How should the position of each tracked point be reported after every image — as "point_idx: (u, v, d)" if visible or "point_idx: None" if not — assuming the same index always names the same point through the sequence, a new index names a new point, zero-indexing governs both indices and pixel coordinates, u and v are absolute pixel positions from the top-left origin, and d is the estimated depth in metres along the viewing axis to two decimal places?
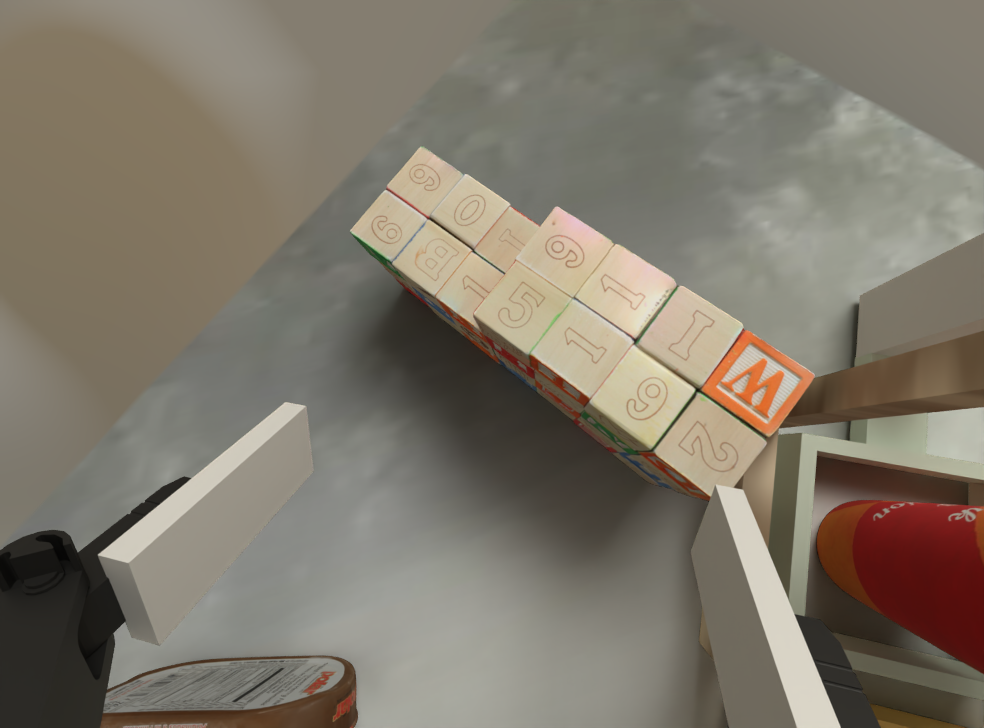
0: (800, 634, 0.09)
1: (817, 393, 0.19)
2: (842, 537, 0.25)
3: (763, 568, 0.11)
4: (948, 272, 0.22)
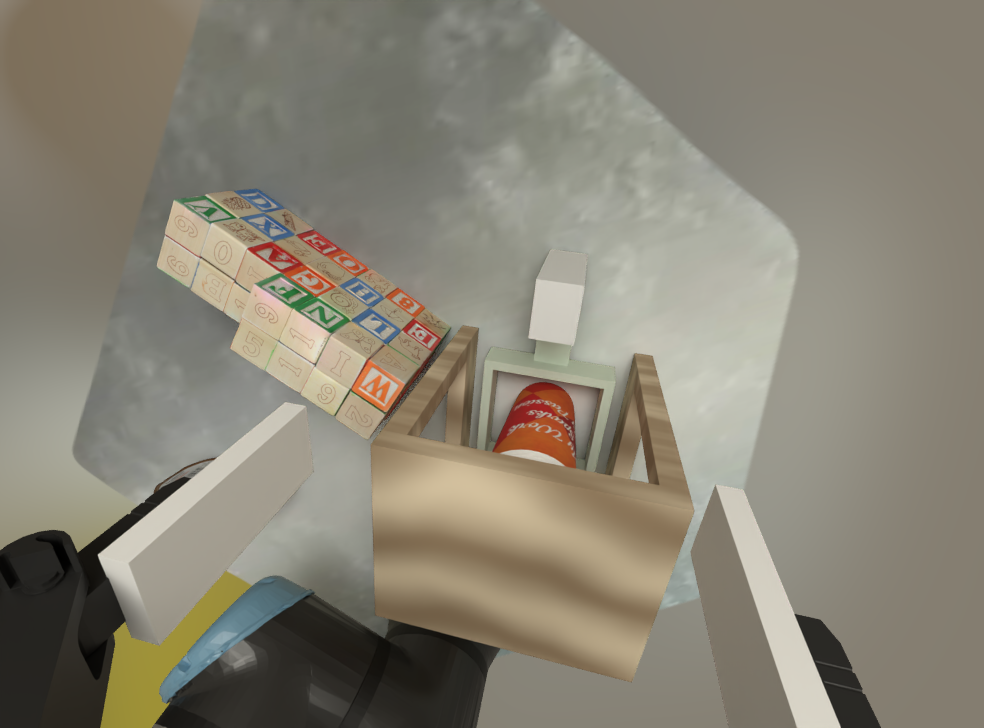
0: (800, 634, 0.09)
1: None
2: None
3: (763, 568, 0.11)
4: None
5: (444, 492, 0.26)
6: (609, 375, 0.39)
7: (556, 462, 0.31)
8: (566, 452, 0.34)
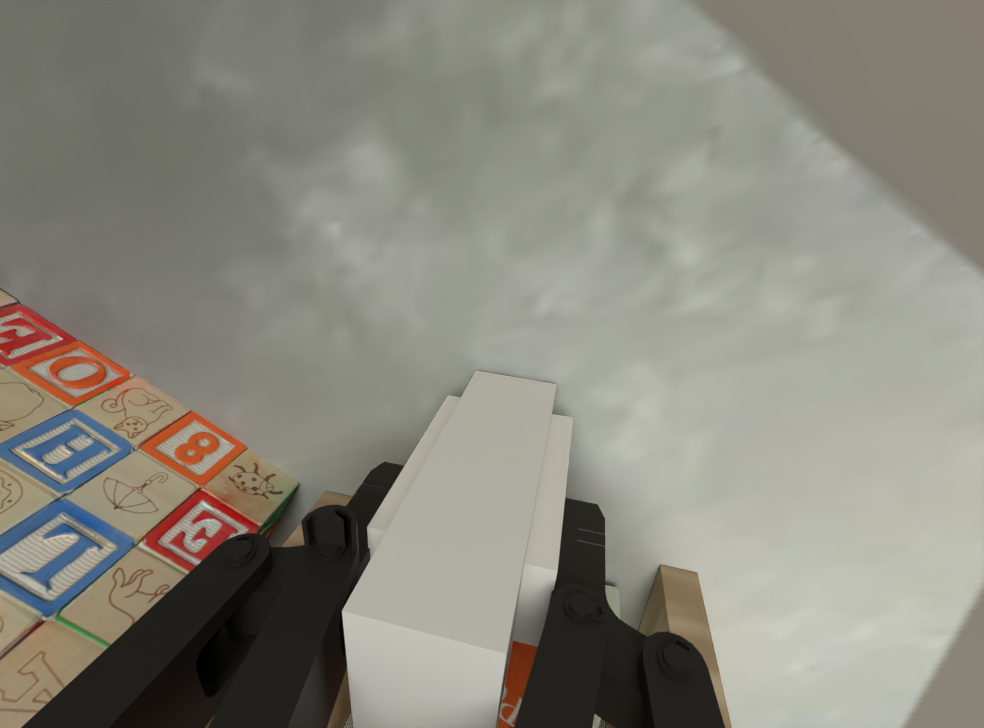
0: (562, 506, 0.12)
1: None
2: None
3: (558, 466, 0.13)
4: None
5: None
6: None
7: None
8: None
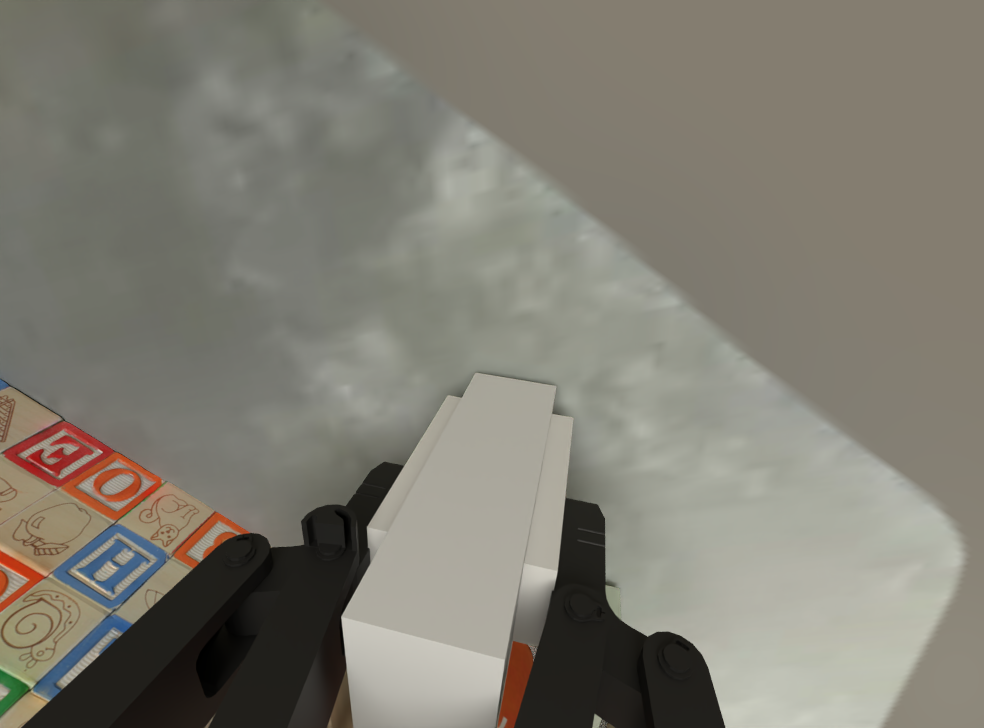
0: (562, 506, 0.12)
1: None
2: None
3: (558, 467, 0.13)
4: None
5: None
6: None
7: None
8: None
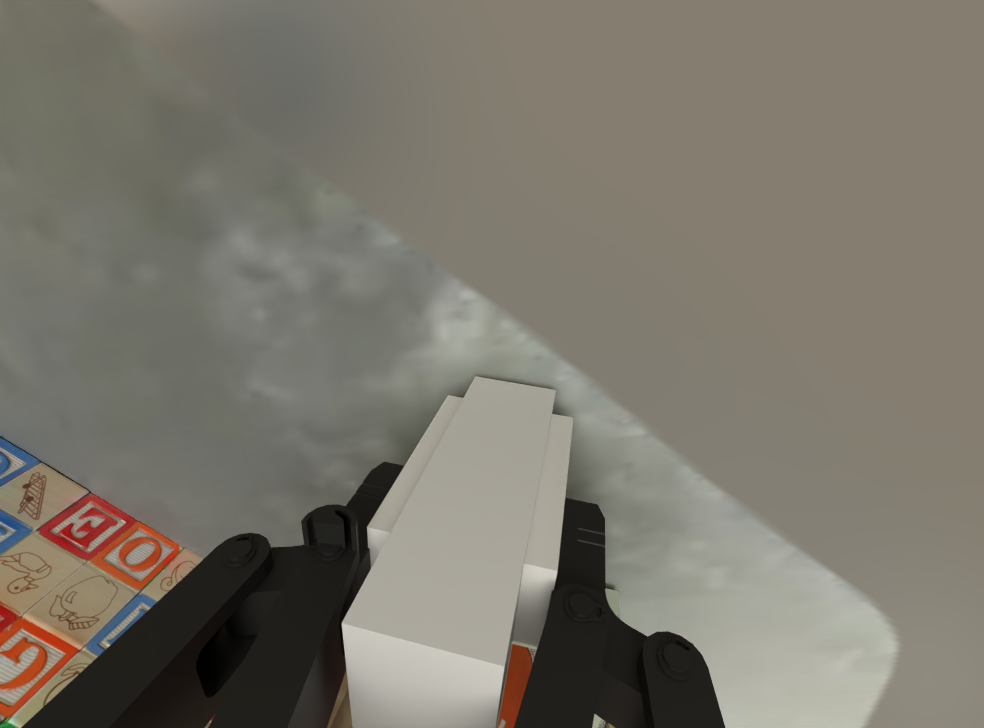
0: (562, 506, 0.12)
1: None
2: None
3: (558, 466, 0.13)
4: None
5: None
6: None
7: None
8: None
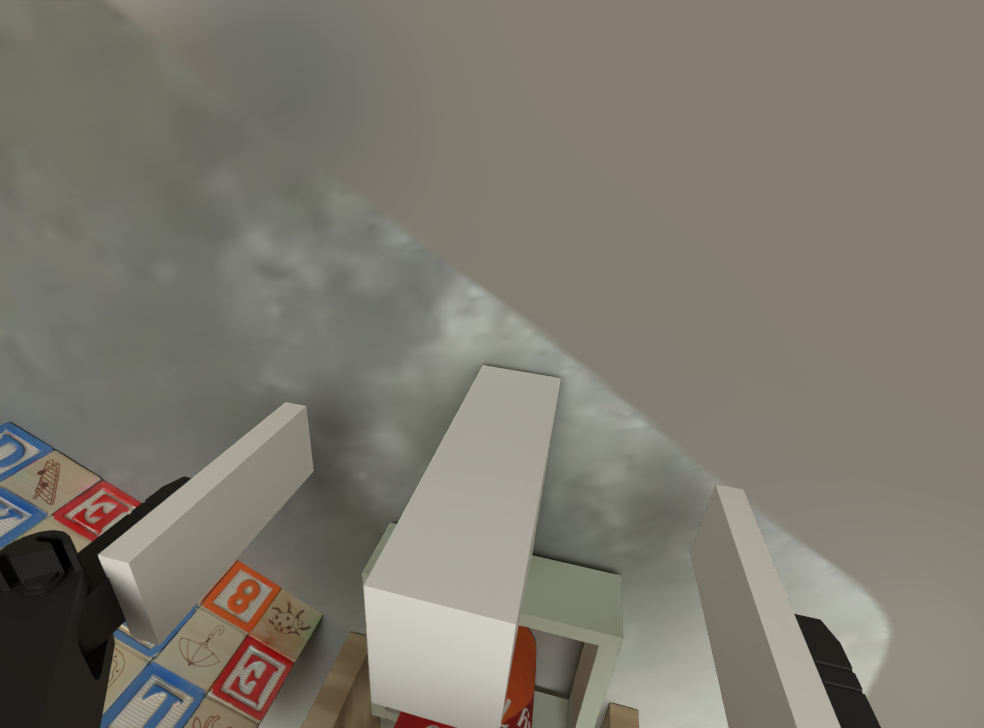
0: (800, 634, 0.09)
1: None
2: None
3: (763, 568, 0.11)
4: None
5: None
6: (610, 610, 0.19)
7: None
8: None
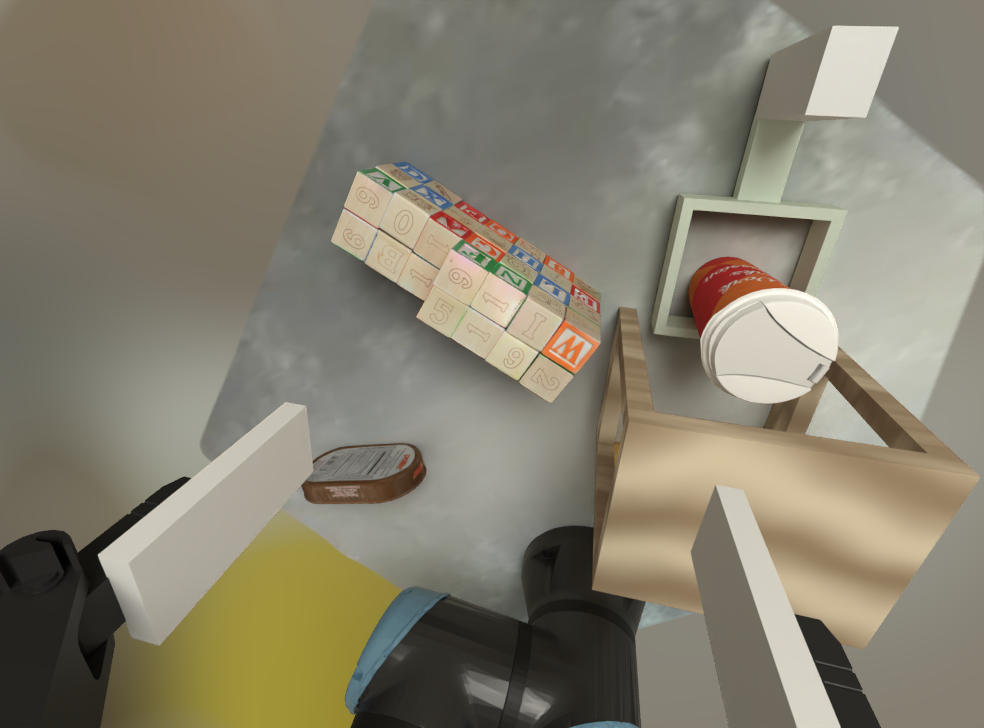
0: (800, 634, 0.09)
1: (621, 362, 0.34)
2: (692, 291, 0.38)
3: (763, 568, 0.11)
4: (800, 61, 0.27)
5: (699, 466, 0.26)
6: (834, 207, 0.34)
7: (809, 296, 0.27)
8: None
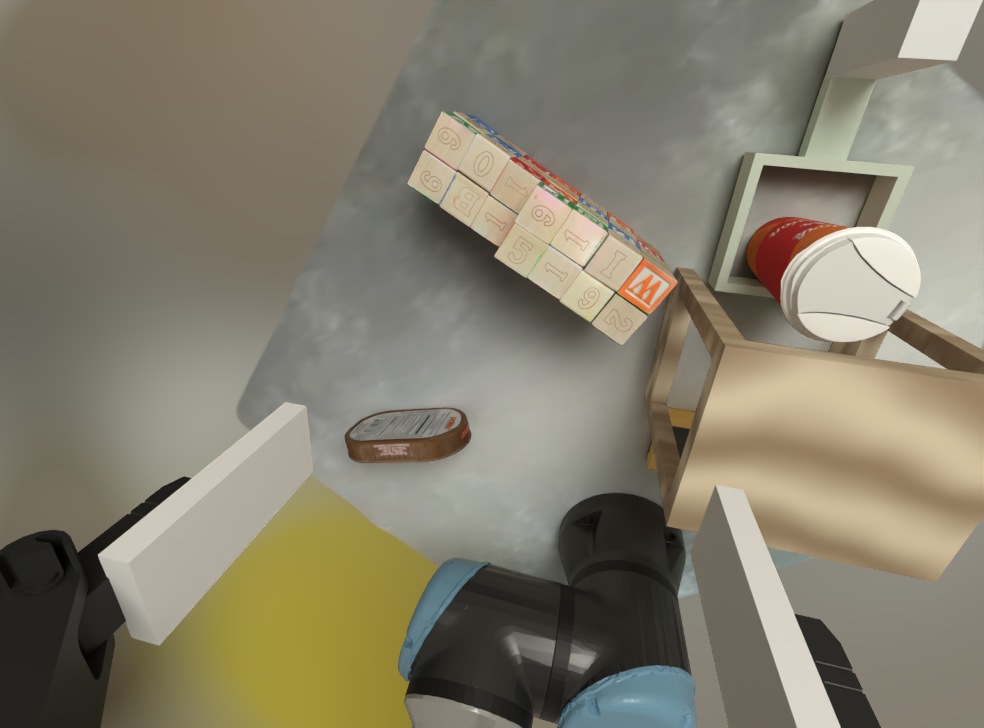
0: (800, 634, 0.09)
1: (694, 308, 0.35)
2: (754, 248, 0.40)
3: (763, 568, 0.11)
4: (888, 11, 0.29)
5: (791, 391, 0.27)
6: None
7: (893, 234, 0.28)
8: None
